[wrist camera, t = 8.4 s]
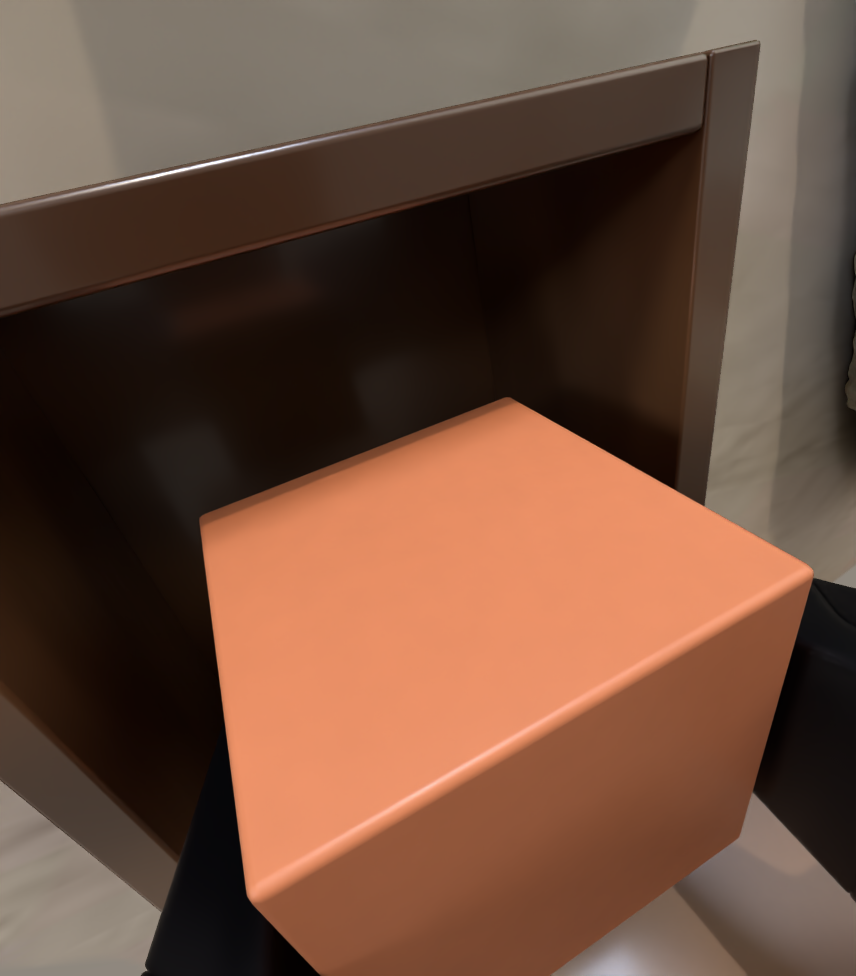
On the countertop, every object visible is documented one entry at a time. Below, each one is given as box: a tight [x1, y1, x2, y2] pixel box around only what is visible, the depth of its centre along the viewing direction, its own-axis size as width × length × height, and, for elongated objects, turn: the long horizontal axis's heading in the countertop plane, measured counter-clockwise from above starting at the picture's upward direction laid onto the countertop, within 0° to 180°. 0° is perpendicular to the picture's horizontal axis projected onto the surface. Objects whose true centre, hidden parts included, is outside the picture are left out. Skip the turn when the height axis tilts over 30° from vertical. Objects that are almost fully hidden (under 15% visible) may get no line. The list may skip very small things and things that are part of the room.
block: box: [199, 397, 814, 976], centre depth 7 cm, size 5×5×5 cm
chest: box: [0, 40, 760, 912], centre depth 11 cm, size 14×12×7 cm
